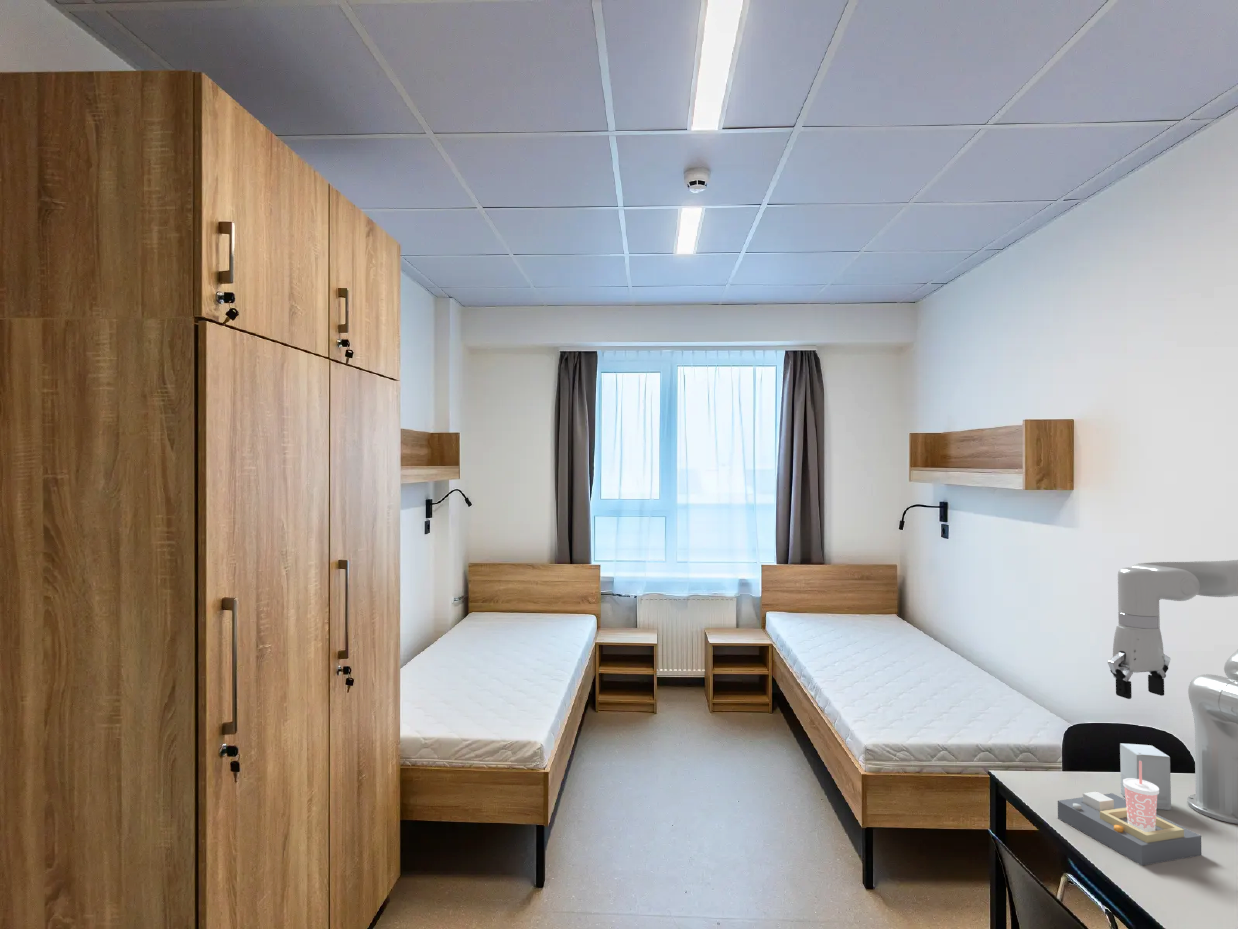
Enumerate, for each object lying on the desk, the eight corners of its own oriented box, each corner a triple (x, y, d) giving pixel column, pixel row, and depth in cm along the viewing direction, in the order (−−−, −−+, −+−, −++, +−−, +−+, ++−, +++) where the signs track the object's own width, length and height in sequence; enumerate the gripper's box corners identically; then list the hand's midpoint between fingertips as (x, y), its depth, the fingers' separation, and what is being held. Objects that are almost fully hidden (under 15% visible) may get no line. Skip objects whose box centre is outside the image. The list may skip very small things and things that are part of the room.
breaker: (1096, 809, 150) (1096, 791, 150) (1113, 817, 146) (1113, 799, 146) (1083, 811, 149) (1082, 793, 149) (1099, 819, 145) (1099, 801, 145)
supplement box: (1172, 811, 154) (1171, 757, 154) (1136, 807, 155) (1136, 754, 155) (1153, 796, 161) (1152, 744, 161) (1119, 793, 162) (1118, 742, 163)
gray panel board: (1112, 810, 154) (1112, 786, 154) (1201, 855, 135) (1201, 828, 135) (1057, 818, 150) (1057, 794, 150) (1141, 865, 131) (1141, 838, 132)
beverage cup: (1119, 825, 139) (1118, 759, 140) (1128, 816, 143) (1127, 752, 143) (1155, 838, 134) (1154, 770, 135) (1163, 828, 138) (1162, 762, 138)
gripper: (1150, 616, 157) (1152, 687, 156) (1094, 619, 153) (1095, 693, 152) (1184, 623, 150) (1185, 698, 149) (1125, 626, 145) (1127, 703, 145)
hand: (1140, 695), depth 151 cm, fingers open, 9 cm apart
